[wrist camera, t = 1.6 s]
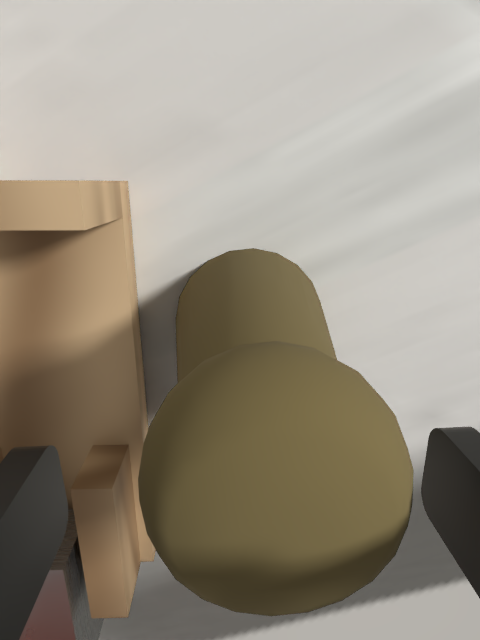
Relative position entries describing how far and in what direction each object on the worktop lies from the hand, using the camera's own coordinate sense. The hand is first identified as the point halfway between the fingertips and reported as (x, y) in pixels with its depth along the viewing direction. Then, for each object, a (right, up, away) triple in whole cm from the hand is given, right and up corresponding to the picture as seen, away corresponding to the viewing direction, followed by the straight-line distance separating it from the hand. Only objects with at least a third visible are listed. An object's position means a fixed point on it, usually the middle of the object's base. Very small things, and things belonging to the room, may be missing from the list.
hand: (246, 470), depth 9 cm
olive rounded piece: (0, +3, +8) cm, 9 cm away
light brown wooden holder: (-8, 0, +9) cm, 12 cm away
